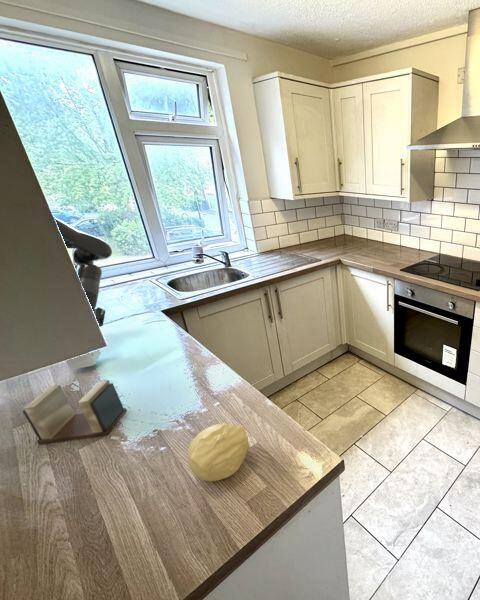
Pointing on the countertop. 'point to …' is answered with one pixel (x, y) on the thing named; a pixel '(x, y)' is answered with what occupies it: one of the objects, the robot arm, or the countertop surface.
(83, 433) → the book rack
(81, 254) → the robot arm
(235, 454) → the yellow lumpy ball
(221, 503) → the countertop surface
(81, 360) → the small box
